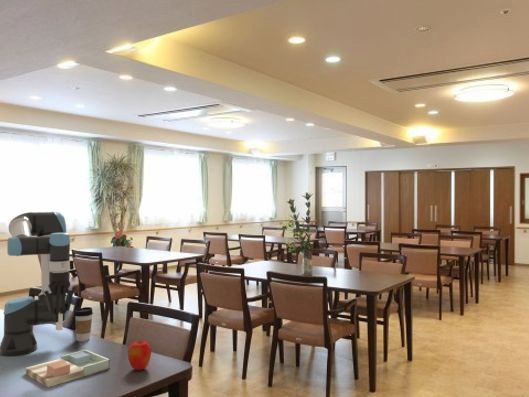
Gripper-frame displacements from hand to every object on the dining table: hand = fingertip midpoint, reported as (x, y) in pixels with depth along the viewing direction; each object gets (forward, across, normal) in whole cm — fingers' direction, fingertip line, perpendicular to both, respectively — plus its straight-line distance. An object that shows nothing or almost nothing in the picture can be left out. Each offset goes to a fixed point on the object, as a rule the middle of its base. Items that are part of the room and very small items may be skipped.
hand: (59, 329), depth 185 cm
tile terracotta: (+13, -5, -10) cm, 18 cm away
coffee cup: (+17, +26, +29) cm, 42 cm away
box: (+16, +8, -5) cm, 19 cm away
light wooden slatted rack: (+16, -4, -5) cm, 17 cm away
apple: (+16, +21, -25) cm, 36 cm away
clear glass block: (+16, +8, 0) cm, 18 cm away
